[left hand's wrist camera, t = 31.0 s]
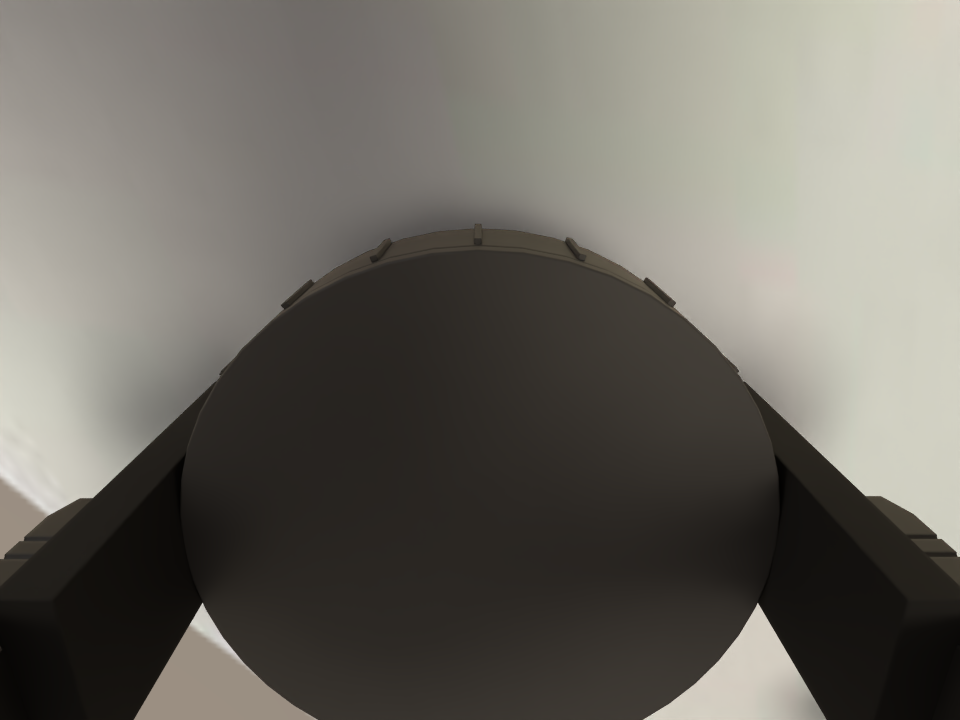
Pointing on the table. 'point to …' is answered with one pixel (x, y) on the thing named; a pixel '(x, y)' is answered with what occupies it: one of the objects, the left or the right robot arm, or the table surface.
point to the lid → (480, 489)
